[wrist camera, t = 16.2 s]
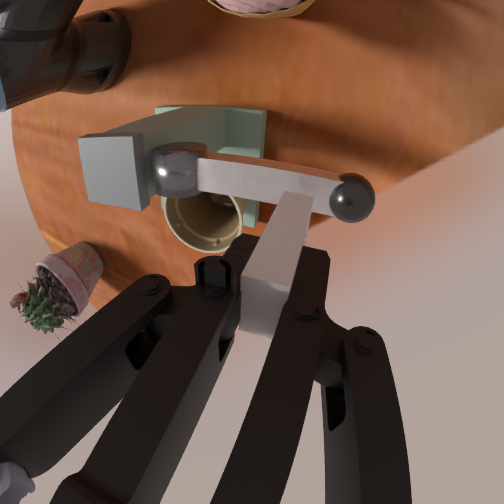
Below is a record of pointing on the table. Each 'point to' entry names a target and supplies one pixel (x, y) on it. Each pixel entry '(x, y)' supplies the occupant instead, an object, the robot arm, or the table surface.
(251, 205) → the press
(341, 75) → the table surface
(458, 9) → the table surface
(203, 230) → the flower pot
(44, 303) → the potted plant
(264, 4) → the ice cream cone
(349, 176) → the lever
